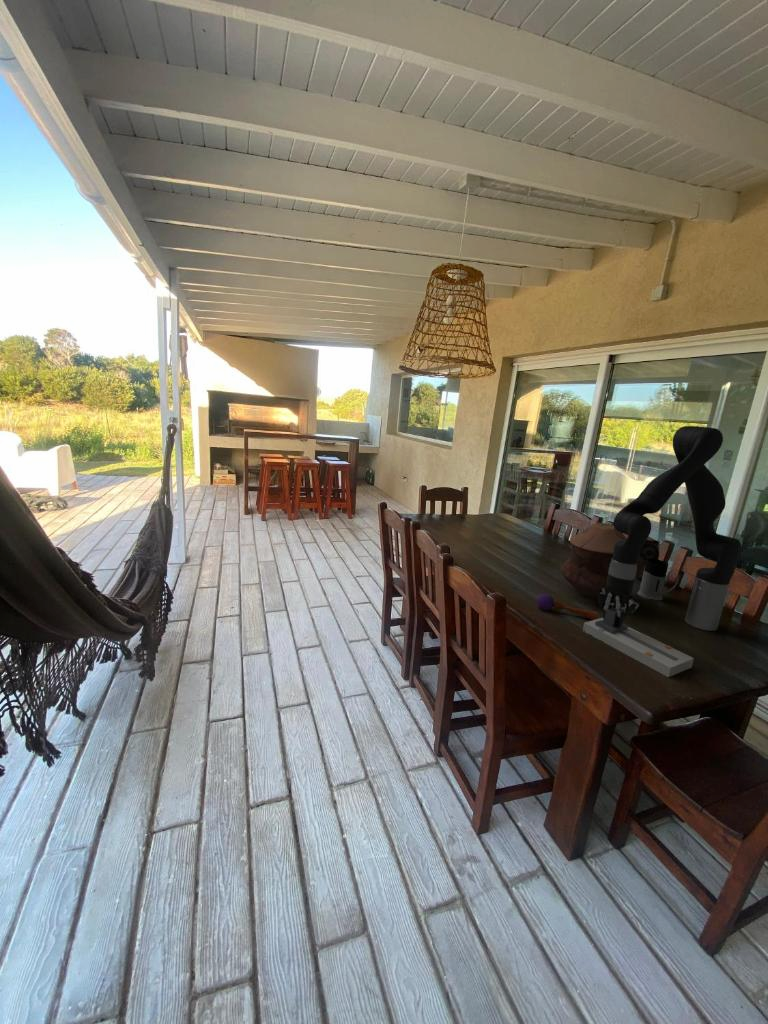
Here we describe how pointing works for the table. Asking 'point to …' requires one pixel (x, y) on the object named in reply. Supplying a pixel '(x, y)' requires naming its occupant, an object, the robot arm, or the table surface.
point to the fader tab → (610, 621)
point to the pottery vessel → (591, 558)
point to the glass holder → (655, 579)
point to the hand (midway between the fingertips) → (611, 623)
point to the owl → (647, 556)
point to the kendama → (562, 606)
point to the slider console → (642, 649)
